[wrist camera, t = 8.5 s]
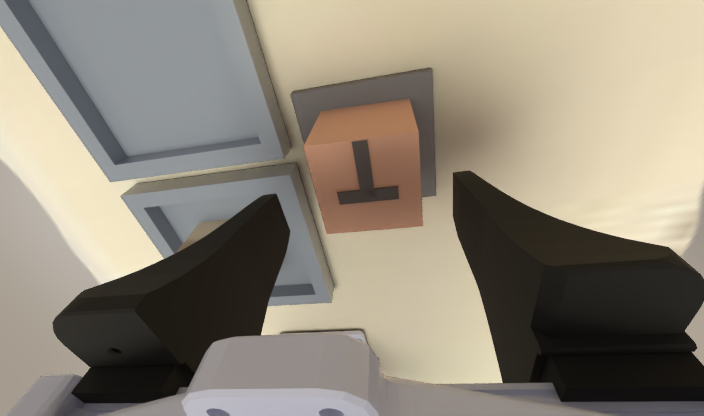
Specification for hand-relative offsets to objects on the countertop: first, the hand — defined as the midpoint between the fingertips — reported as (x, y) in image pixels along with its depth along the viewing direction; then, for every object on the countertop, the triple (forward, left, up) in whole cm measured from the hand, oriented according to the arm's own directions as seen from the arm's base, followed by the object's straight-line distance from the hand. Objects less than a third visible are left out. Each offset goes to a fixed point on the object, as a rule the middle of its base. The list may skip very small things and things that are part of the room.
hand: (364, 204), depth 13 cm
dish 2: (-6, +10, -6) cm, 13 cm away
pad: (0, 0, -6) cm, 6 cm away
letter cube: (0, 0, -5) cm, 5 cm away
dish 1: (+6, +10, -6) cm, 13 cm away
